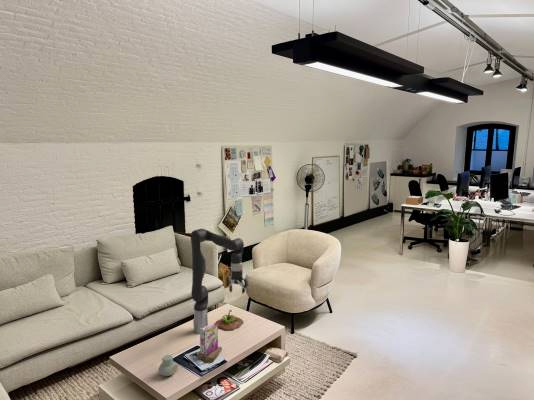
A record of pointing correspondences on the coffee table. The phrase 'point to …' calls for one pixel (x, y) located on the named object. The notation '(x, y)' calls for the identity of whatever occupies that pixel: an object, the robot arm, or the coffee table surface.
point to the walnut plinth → (210, 355)
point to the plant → (229, 322)
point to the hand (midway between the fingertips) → (237, 292)
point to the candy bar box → (208, 339)
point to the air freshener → (168, 366)
